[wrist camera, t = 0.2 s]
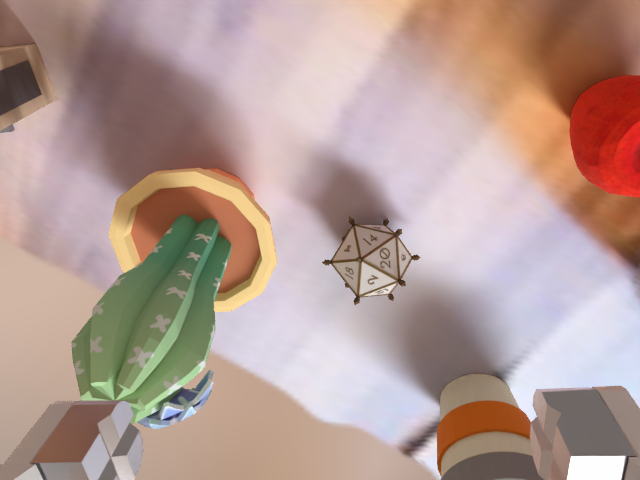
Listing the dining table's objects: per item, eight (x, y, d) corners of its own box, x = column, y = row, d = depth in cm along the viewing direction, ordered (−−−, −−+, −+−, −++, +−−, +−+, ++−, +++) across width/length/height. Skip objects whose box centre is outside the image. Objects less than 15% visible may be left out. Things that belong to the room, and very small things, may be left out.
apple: (561, 171, 47) (611, 228, 38) (536, 89, 44) (583, 130, 34) (662, 130, 45) (741, 181, 36) (644, 39, 41) (727, 69, 32)
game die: (356, 211, 55) (326, 201, 46) (431, 229, 52) (416, 221, 43) (337, 289, 56) (303, 294, 46) (411, 311, 53) (391, 321, 43)
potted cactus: (143, 256, 56) (12, 454, 35) (137, 124, 48) (-39, 277, 26) (279, 278, 56) (232, 487, 35) (296, 151, 48) (248, 322, 27)
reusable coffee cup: (537, 415, 65) (581, 532, 52) (445, 439, 69) (465, 553, 56) (508, 350, 60) (549, 464, 47) (410, 380, 63) (424, 493, 51)
